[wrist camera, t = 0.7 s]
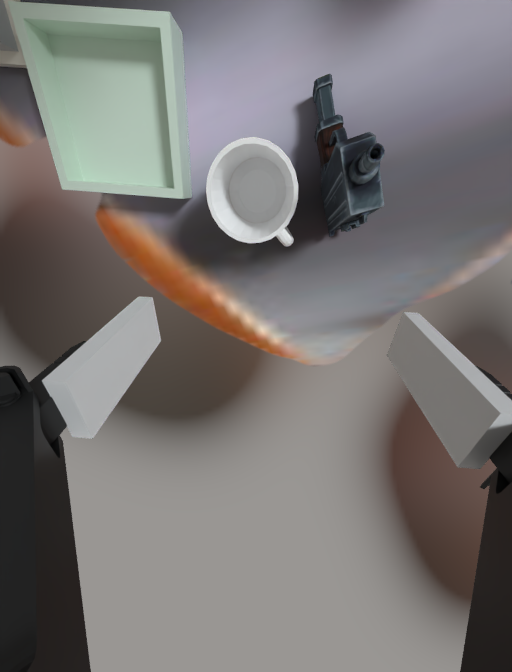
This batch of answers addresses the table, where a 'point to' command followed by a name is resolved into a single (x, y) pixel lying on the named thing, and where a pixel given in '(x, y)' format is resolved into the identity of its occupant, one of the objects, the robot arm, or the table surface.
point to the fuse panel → (9, 39)
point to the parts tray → (109, 96)
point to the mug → (253, 191)
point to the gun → (345, 166)
